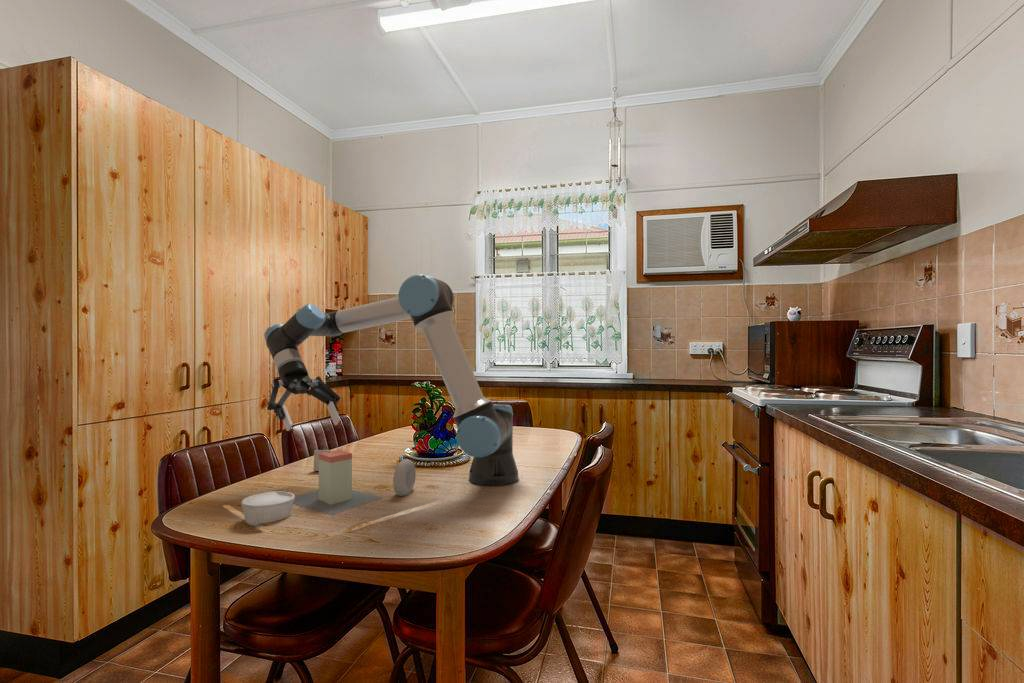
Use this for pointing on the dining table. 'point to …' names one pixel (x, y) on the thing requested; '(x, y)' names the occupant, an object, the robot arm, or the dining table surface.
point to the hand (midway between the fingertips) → (314, 424)
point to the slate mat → (314, 503)
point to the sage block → (335, 476)
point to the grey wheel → (404, 477)
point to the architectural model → (316, 458)
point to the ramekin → (267, 507)
